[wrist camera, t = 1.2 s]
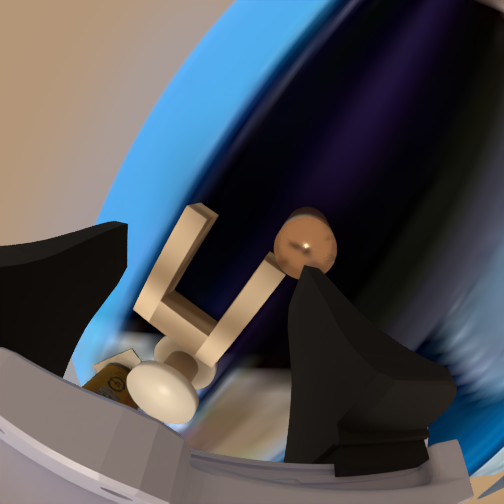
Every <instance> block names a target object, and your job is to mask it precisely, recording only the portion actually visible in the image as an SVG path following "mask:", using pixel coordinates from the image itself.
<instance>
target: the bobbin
mask: <svg viewBox="0 0 504 504" xmlns="http://www.w3.org/2000/svg"><path fill="white" fill-rule="evenodd" d="M154 357H155V361H143V362H140V363H139V364H137V365H136V366H135V367H134V368H133V369H132V371H131V372H130V373H129V374H128V376H127V388H128V391H129V393H130V395H131V397H132V398H133V400H134V401H135V403H136V404H137V405H138V406H139V407H140V408H141V409H142V410H143V411H145V412H146V413H147V414H149V415H150V416H152V417H154V418H156V419H158V420H160V421H163V422H166V423H170V424H183V423H186V422H188V421H189V420H190V419H191V418H192V417H193V415H194V413H195V411H196V410H197V408H198V404H199V399H198V395H197V392H196V390H195V389H201V388H204V387H206V386H208V385H209V384H210V383H211V381H212V380H213V378H214V376H215V374H216V372H217V368H218V363H217V362H216V363H215V364H214V366H213V367H212V368H211V367H209V366H208V365H206V364H205V363H203V362H202V361H201V360H199V359H198V358H196V357H195V356H193V355H192V354H191V353H189V352H188V351H186V350H185V349H184V348H182V347H181V346H180V345H178V344H177V343H175V342H174V341H173V340H171V339H170V338H169V337H167V336H166V335H165V336H164V337H163V338H162V339H161V340H160V341H159V342H158V343H157V345H156V347H155V351H154Z"/></svg>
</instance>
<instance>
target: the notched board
mask: <svg viewBox="0 0 504 504" xmlns="http://www.w3.org/2000/svg"><path fill="white" fill-rule="evenodd" d="M218 216H219V215H218V214H216V213H215V212H213V211H212V210H210V209H209V208H208V207H206V206H205V205H203V204H202V203H197V204H192V205H187V207H186V208H185V210H184V212H183V214H182V215H181V217H180V219H179V221H178V223H177V224H176V226H175V228H174V230H173V232H172V233H171V235H170V237H169V239H168V241H167V243H166V245H165V246H164V248H163V250H162V252H161V254H160V256H159V258H158V260H157V262H156V264H155V266H154V268H153V270H152V272H151V273H150V275H149V277H148V279H147V281H146V283H145V286H144V288H143V290H142V292H141V294H140V296H139V298H138V300H137V302H136V304H135V306H134V308H133V309H134V310H135V311H136V312H137V313H138V314H140V315H141V316H142V317H143V318H145V319H146V320H147V321H148V322H149V323H151V324H152V325H153V326H155V327H156V328H157V329H158V330H160V331H161V332H162V333H164V334H165V335H166V336H167V337H169V338H170V339H171V340H173V341H174V342H175V343H177V344H178V345H180V346H181V347H182V348H184V349H185V350H186V351H188V352H189V353H191V354H192V355H193V356H195V357H196V358H198V359H199V360H201V361H202V362H203V363H205V364H206V365H208V366H209V367H211V368H212V367H213V366H214V364H215V363H216V362H217V361H218V360H219V358H220V357H221V356H222V355H223V354H224V352H225V351H226V350H227V349H228V347H229V346H230V345H231V344H232V343H233V341H234V340H235V339H236V338H237V336H238V335H239V334H240V333H241V331H242V330H243V329H244V328H245V326H246V325H247V324H248V323H249V321H250V320H251V319H252V318H253V316H254V315H255V314H256V313H257V311H258V310H259V309H260V307H261V306H262V305H263V304H264V302H265V301H266V300H267V299H268V297H269V296H270V295H271V293H272V292H273V291H274V290H275V288H276V287H277V286H278V284H279V283H280V282H281V280H282V279H283V278H284V276H285V275H286V273H285V272H284V271H283V270H282V269H281V268H280V266H279V265H278V263H277V261H276V258H275V255H274V254H273V253H271V252H270V251H269V253H268V254H267V256H266V257H265V258H264V260H263V261H262V263H261V264H260V265H259V267H258V268H257V270H256V271H255V272H254V274H253V275H252V276H251V278H250V279H249V281H248V282H247V283H246V285H245V286H244V288H243V289H242V290H241V292H240V293H239V294H238V296H237V297H236V299H235V300H234V301H233V303H232V304H231V305H230V307H229V308H228V310H227V311H226V312H225V314H224V315H223V316H222V318H221V319H220V321H219V322H218V321H216V320H215V319H213V318H212V317H211V316H209V315H208V314H206V313H205V312H204V311H202V310H201V309H199V308H198V307H197V306H195V305H194V304H193V303H191V302H190V301H189V300H187V299H186V298H185V297H183V296H182V295H181V294H179V293H178V292H177V291H175V290H174V289H175V287H176V286H177V284H178V282H179V280H180V279H181V277H182V275H183V273H184V272H185V270H186V268H187V267H188V265H189V263H190V262H191V260H192V258H193V257H194V255H195V253H196V252H197V250H198V248H199V247H200V245H201V243H202V242H203V240H204V238H205V237H206V235H207V233H208V232H209V230H210V229H211V227H212V225H213V224H214V222H215V221H216V219H217V217H218Z"/></svg>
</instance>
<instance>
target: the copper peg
mask: <svg viewBox="0 0 504 504" xmlns="http://www.w3.org/2000/svg"><path fill="white" fill-rule="evenodd" d="M274 254H275V258H276V261H277V263H278V265H279V266H280V268H281V269H282V270H283V271H284V272H285V273H286V274H288V275H289V276H291V277H293V278H296V279H299V277H300V275H301V272H302V269H303V266H304V265H307V266H311V267H316V268H319V269H320V270H321V271H322V272H323V273H324V274H325V273H326V272H327V271H328V270H329V269H330V268H331V267H332V265H333V263H334V261H335V258H336V254H337V244H336V240H335V237H334V235H333V233H332V231H331V228H330V226H329V224H328V222H327V220H326V218H325V216H324V215H323V213H322V212H320V211H319V210H318V209H316V208H313V207H301V208H298V209H297V210H295V211H294V212H293V213H292V214H291V215H290V216H289V218H288V219H287V221H286V222H285V224H284V225H283V227H282V228H281V230H280V231H279V233H278V235H277V237H276V239H275V243H274Z"/></svg>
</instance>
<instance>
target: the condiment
mask: <svg viewBox="0 0 504 504" xmlns="http://www.w3.org/2000/svg"><path fill="white" fill-rule="evenodd" d="M140 362H141V361H140V359H139V358H138V357H137V356H136V354H135V353H134V351H133V350H132V349H130V350H128V351H125V352H123V353H121V354H119V355H116V356H114V357H112V358H109V359H107V360H105V361H102V362H100V363H98V364H95V365H93V366H92V367H93V368H94V369H95V370H96V372H97V374H96V375H95V376H94V377H93V378H92V379H91V380H89V381H88V382H87V383H86V384H84V386H82V388H84V389H87V390H89V391H91V392H94V393H96V394H98V395H101V396H103V397H106V398H108V399H111V400H113V401H116V402H119V403H121V404H124V405H127V406H129V407H131V408H133V409H136V410H137V409H140V407H139V406H138V405H137V404H136V403H135V401H134V400H133V398H132V397H131V395H130V393H129V391H128V388H127V376H128V374H129V373H130V372H131V371H132V368H134V367H135V366H136V365H137V364H139V363H140ZM129 367H130V368H131V369H130V368H129Z"/></svg>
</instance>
